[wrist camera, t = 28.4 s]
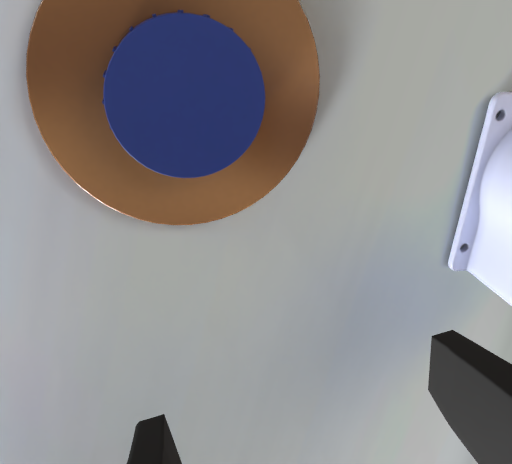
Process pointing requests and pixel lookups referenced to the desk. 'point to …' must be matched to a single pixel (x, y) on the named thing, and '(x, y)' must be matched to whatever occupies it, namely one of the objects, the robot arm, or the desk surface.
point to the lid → (184, 94)
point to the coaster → (102, 137)
